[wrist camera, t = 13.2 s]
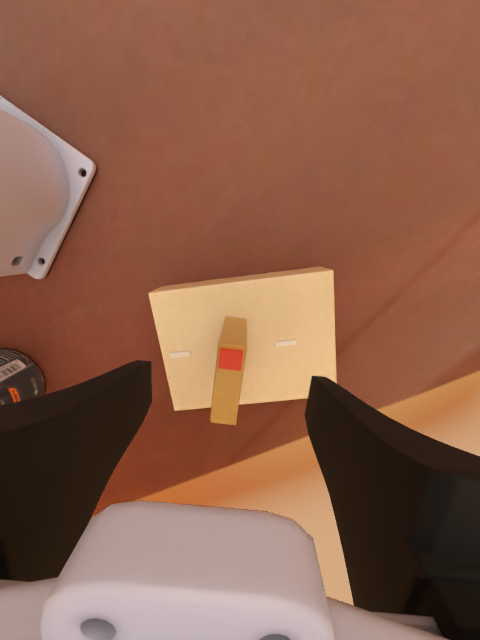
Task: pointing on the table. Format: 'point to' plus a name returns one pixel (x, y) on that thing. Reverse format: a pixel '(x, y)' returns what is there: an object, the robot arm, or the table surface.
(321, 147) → the table surface
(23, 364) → the pill bottle
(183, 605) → the robot arm
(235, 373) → the thumbturn
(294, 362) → the plate
